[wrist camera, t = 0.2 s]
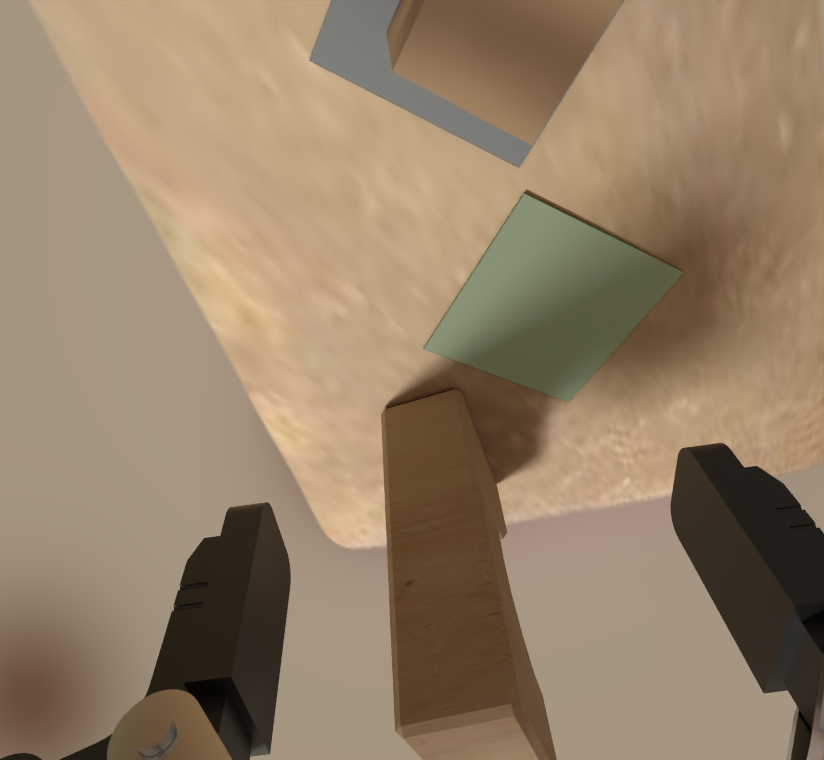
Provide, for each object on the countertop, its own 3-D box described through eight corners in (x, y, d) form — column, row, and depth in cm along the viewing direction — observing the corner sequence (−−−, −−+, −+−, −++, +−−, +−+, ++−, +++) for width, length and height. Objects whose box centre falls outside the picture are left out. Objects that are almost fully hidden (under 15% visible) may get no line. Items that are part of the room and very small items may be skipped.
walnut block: (456, -131, 23) (480, -124, 19) (584, -44, 25) (634, -18, 21) (386, 31, 26) (392, 71, 22) (504, 97, 29) (532, 145, 24)
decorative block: (497, 486, 47) (563, 789, 32) (425, 504, 48) (457, 807, 33) (462, 383, 40) (526, 710, 25) (378, 406, 41) (392, 736, 26)
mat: (523, 192, 32) (524, 193, 32) (682, 271, 36) (683, 272, 36) (423, 347, 38) (423, 349, 38) (567, 400, 42) (568, 402, 42)
